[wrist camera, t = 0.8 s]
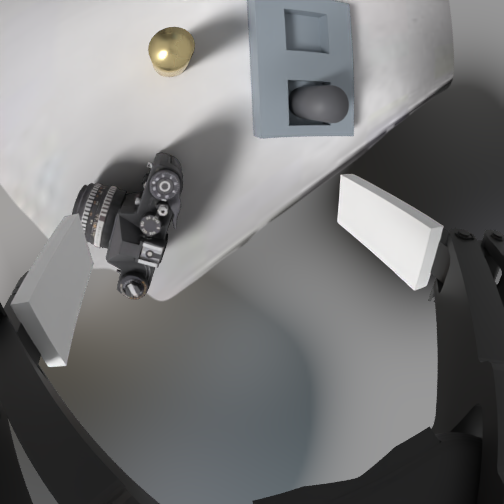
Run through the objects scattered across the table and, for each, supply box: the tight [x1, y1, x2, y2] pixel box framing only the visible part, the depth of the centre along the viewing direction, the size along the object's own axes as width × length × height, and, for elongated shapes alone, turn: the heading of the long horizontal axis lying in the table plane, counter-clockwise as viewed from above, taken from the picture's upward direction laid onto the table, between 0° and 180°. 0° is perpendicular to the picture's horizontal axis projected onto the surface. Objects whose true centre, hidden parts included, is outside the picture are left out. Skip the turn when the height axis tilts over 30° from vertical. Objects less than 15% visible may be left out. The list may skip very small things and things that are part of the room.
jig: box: [247, 0, 354, 138], centre depth 27 cm, size 18×12×8 cm, turn 2°
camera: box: [72, 153, 183, 300], centre depth 29 cm, size 14×11×10 cm
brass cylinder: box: [148, 27, 195, 77], centre depth 24 cm, size 4×4×8 cm
